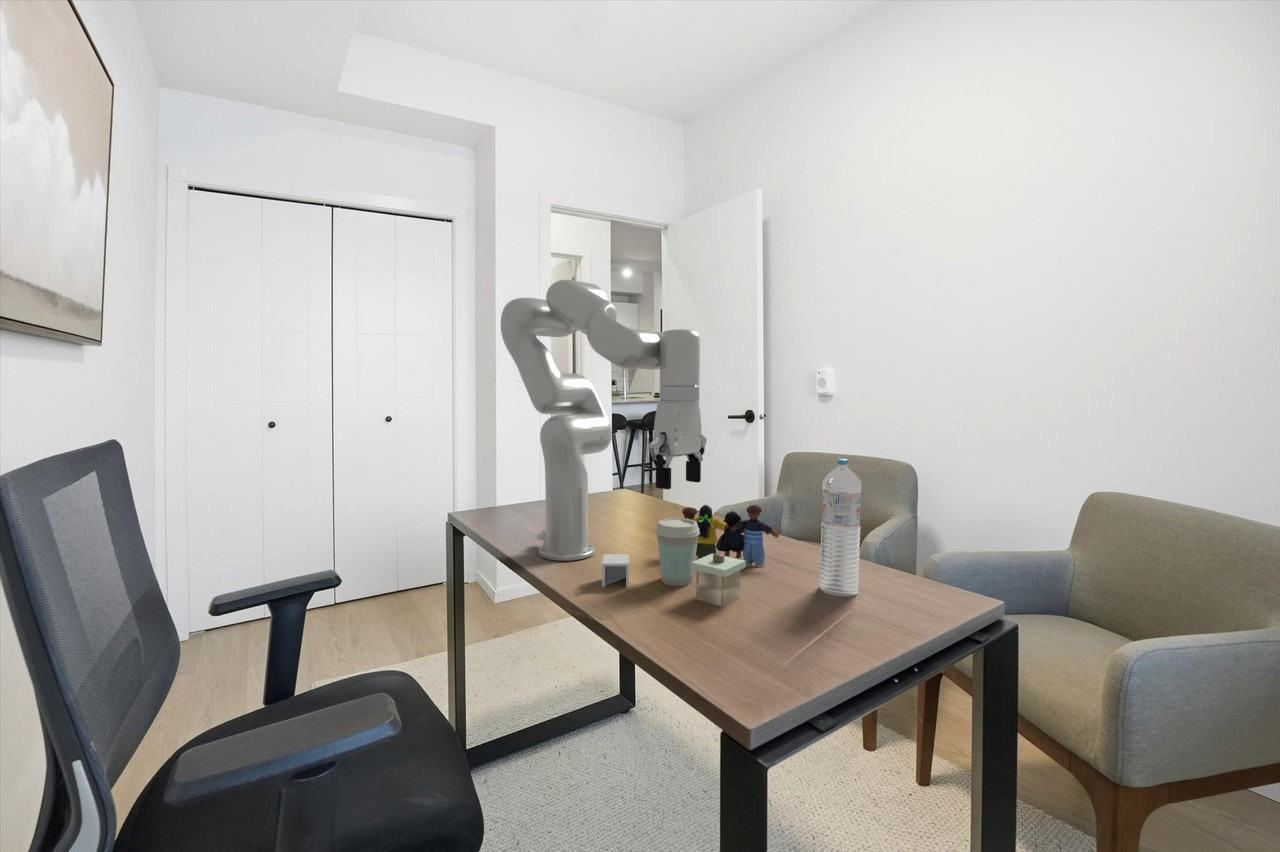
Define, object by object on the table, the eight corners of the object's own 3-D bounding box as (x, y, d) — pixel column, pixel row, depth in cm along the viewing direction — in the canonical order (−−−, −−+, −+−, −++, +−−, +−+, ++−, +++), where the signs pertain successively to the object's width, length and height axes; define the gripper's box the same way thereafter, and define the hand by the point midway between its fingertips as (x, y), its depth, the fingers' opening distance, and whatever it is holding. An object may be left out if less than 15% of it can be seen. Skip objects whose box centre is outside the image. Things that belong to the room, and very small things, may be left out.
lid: (691, 568, 106) (691, 555, 106) (712, 559, 111) (712, 547, 111) (725, 577, 101) (725, 563, 101) (745, 567, 107) (745, 554, 107)
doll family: (775, 558, 133) (776, 498, 132) (778, 571, 124) (779, 507, 123) (672, 553, 136) (672, 495, 135) (667, 565, 127) (668, 503, 126)
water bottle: (830, 583, 116) (834, 456, 114) (864, 592, 111) (869, 459, 109) (812, 592, 111) (816, 459, 109) (847, 602, 106) (851, 463, 104)
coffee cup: (696, 592, 111) (697, 529, 110) (651, 589, 113) (651, 526, 112) (701, 577, 119) (702, 518, 118) (659, 574, 121) (659, 516, 120)
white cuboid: (603, 578, 118) (603, 554, 118) (629, 578, 119) (629, 554, 118) (602, 589, 113) (602, 563, 112) (628, 589, 113) (628, 563, 112)
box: (696, 601, 106) (696, 568, 106) (713, 593, 111) (713, 561, 110) (723, 609, 103) (723, 575, 102) (739, 600, 107) (740, 567, 107)
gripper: (689, 394, 122) (688, 477, 124) (634, 396, 109) (634, 488, 110) (720, 395, 117) (719, 481, 119) (667, 397, 104) (667, 493, 105)
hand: (678, 484), depth 114 cm, fingers open, 9 cm apart
